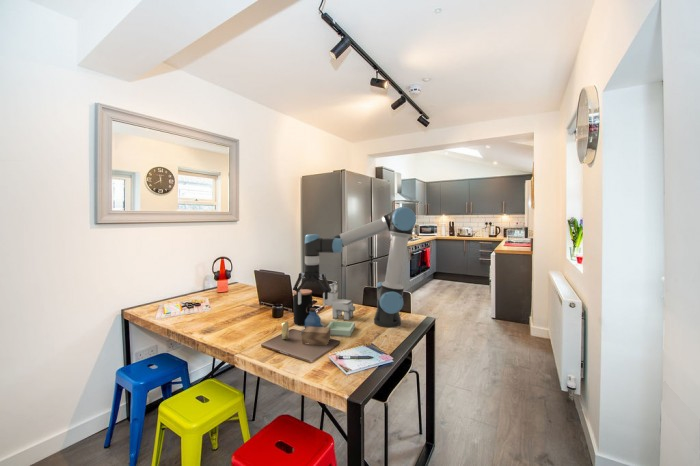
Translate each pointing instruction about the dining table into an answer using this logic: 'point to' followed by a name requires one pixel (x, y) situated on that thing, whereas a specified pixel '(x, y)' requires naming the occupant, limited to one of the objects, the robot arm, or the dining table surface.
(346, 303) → the toy llama
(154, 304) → the dining table surface
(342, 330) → the tray
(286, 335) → the bench dog
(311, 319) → the perfume bottle
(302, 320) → the coffee jar
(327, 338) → the brown wooden block
